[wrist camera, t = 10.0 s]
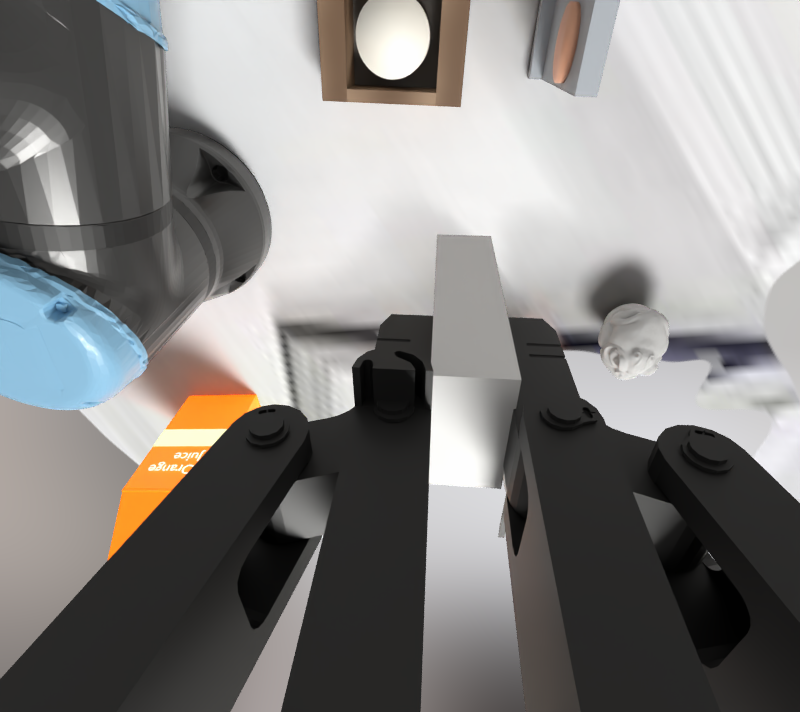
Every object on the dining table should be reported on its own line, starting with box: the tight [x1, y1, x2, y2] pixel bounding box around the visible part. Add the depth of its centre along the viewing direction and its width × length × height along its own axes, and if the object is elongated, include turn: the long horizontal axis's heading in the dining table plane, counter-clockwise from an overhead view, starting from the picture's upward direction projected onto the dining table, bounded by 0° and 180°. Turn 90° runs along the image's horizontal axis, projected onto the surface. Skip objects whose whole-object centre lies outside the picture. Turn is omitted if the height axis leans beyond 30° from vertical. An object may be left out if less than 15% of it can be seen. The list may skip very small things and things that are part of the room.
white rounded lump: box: [598, 303, 670, 380], centre depth 43 cm, size 6×7×7 cm
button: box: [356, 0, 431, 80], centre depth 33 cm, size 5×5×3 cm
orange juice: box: [108, 395, 261, 560], centre depth 51 cm, size 8×9×20 cm
